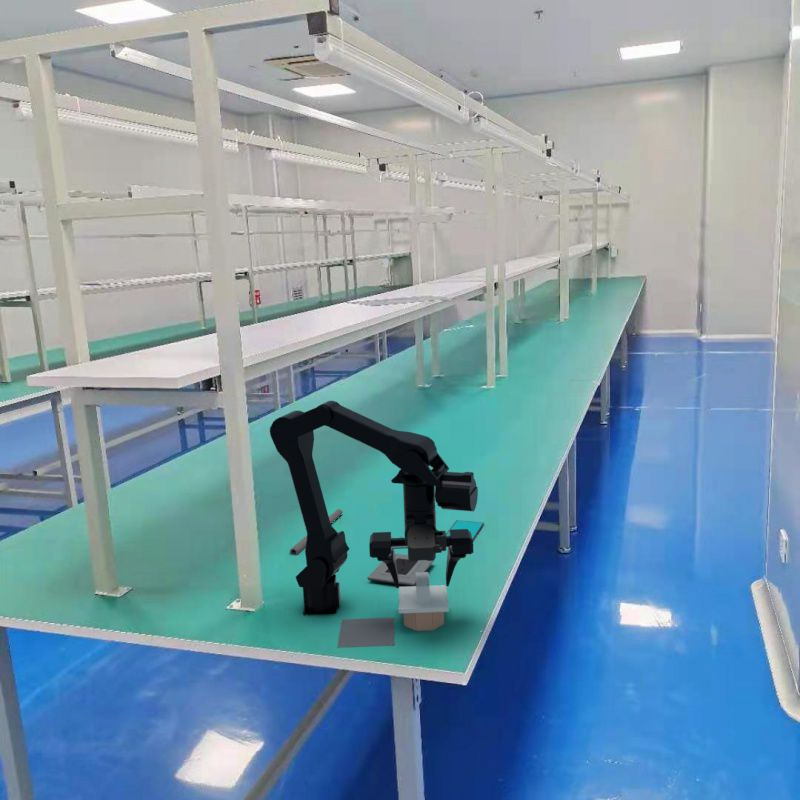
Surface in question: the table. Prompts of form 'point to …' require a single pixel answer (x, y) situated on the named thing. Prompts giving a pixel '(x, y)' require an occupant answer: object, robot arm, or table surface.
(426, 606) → the lid
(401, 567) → the electrical outlet
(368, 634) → the mat
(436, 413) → the table surface
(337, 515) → the metal rod
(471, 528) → the smartphone
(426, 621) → the bowl
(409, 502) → the robot arm
